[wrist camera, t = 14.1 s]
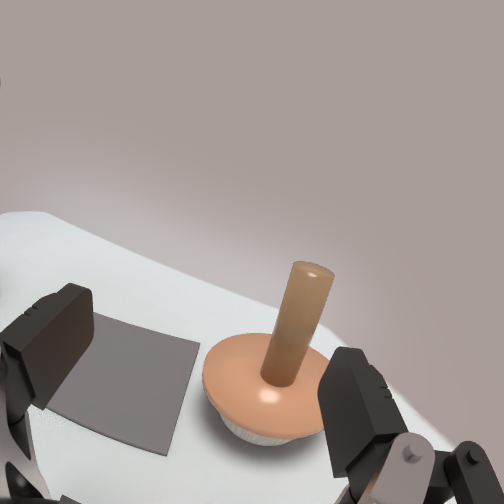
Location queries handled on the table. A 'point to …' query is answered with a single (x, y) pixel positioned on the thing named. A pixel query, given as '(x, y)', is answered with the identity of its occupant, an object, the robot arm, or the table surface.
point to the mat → (128, 384)
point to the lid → (275, 365)
